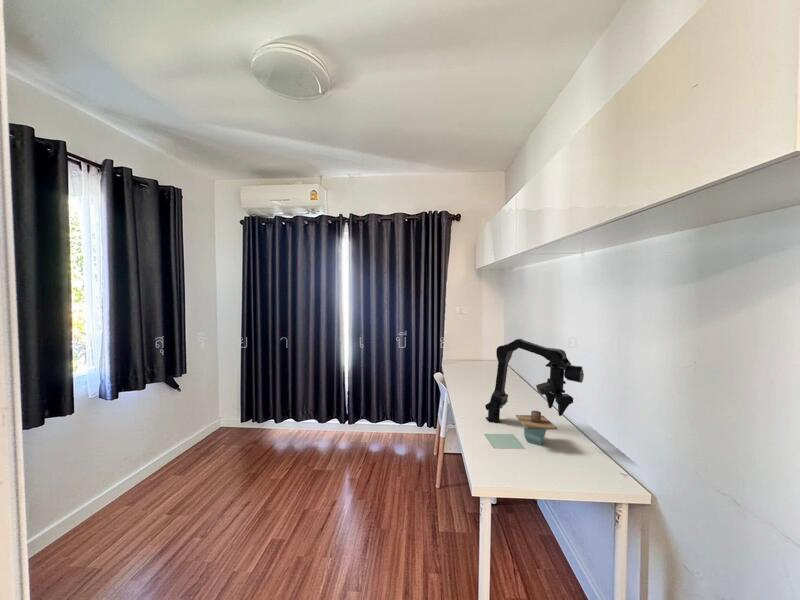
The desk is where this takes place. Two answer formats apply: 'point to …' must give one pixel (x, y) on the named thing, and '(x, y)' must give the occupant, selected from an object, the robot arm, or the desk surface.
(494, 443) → the mat
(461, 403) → the desk surface
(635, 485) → the desk surface
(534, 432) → the flower pot
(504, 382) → the robot arm
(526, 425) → the lid
